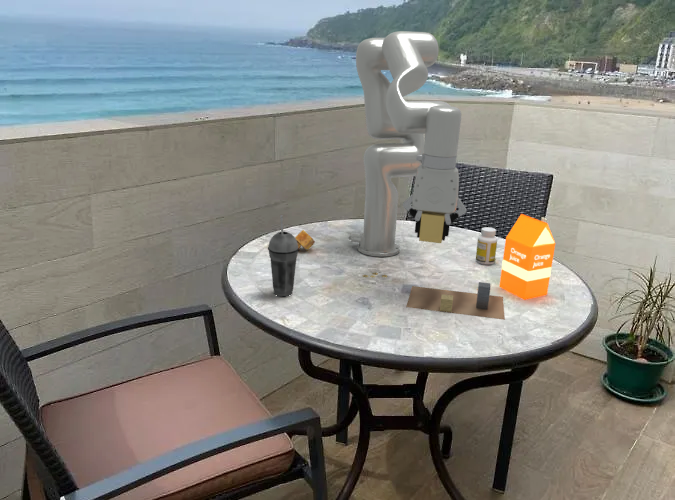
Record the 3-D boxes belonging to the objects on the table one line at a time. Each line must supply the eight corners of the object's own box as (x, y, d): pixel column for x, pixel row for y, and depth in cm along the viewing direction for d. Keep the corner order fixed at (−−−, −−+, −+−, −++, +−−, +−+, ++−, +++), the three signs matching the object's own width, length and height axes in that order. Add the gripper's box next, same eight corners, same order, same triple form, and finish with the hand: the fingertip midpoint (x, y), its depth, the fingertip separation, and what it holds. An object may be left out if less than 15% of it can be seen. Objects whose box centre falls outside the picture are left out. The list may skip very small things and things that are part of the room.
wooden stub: (439, 310, 133) (441, 298, 132) (440, 306, 136) (441, 294, 135) (451, 312, 133) (452, 300, 132) (452, 307, 135) (453, 295, 134)
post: (476, 308, 135) (478, 286, 134) (476, 303, 138) (478, 282, 136) (487, 309, 135) (490, 287, 133) (487, 305, 137) (490, 283, 135)
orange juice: (523, 304, 141) (535, 225, 135) (498, 291, 149) (508, 215, 142) (547, 299, 145) (559, 221, 138) (521, 286, 152) (532, 211, 145)
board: (405, 311, 135) (406, 307, 135) (411, 290, 147) (412, 285, 147) (504, 324, 131) (504, 319, 130) (502, 301, 143) (502, 296, 142)
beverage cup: (302, 290, 145) (304, 212, 138) (291, 301, 138) (291, 220, 132) (275, 285, 147) (275, 208, 140) (263, 296, 140) (262, 216, 134)
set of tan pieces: (361, 282, 152) (361, 275, 152) (373, 277, 156) (373, 270, 155) (376, 288, 149) (376, 281, 149) (388, 282, 153) (389, 276, 152)
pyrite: (296, 254, 169) (300, 258, 173) (312, 238, 169) (316, 242, 173) (284, 243, 171) (289, 247, 174) (300, 227, 171) (304, 231, 175)
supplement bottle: (493, 259, 171) (497, 227, 168) (495, 265, 166) (500, 232, 163) (474, 257, 172) (478, 225, 168) (476, 264, 166) (480, 231, 163)
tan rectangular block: (418, 240, 138) (421, 214, 135) (421, 233, 143) (423, 207, 140) (441, 243, 137) (444, 216, 134) (442, 236, 141) (445, 210, 139)
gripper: (399, 161, 131) (393, 238, 138) (477, 169, 128) (467, 246, 134) (403, 155, 138) (397, 228, 145) (477, 162, 135) (468, 236, 141)
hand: (431, 236), depth 139 cm, fingers closed on tan rectangular block, 5 cm apart
